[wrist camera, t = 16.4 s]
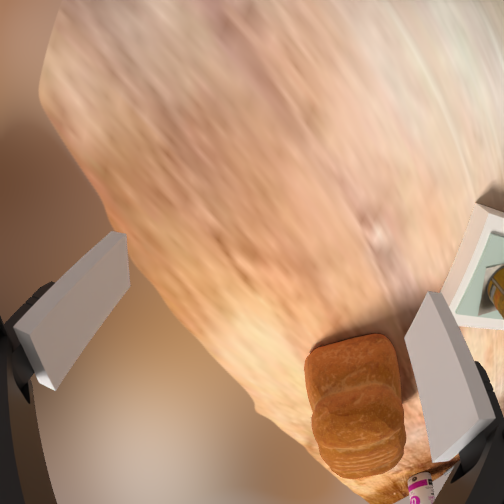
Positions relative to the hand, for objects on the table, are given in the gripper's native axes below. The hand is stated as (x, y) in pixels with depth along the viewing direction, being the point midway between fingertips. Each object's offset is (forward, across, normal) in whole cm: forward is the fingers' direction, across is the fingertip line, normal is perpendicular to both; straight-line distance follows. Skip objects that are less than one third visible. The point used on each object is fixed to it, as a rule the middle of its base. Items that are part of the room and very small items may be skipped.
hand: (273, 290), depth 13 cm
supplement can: (+28, +63, -86) cm, 110 cm away
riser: (+28, +34, -9) cm, 45 cm away
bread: (+28, +20, -38) cm, 51 cm away
